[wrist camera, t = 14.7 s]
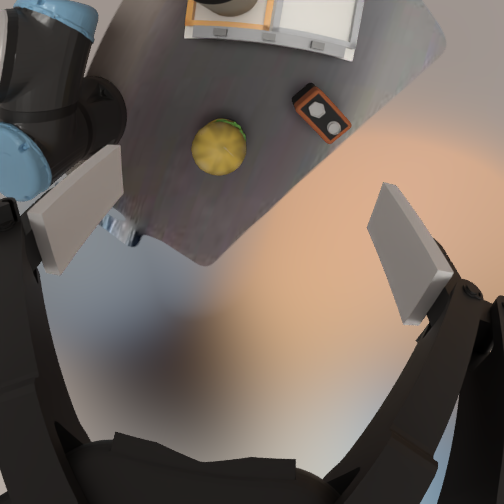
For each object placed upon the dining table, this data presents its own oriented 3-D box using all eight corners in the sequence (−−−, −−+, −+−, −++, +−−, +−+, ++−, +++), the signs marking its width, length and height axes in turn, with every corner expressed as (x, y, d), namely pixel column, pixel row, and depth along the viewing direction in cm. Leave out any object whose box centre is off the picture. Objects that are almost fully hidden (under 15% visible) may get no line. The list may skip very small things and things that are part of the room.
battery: (310, 81, 40) (320, 88, 32) (339, 112, 43) (355, 128, 35) (290, 99, 42) (294, 111, 34) (319, 129, 45) (330, 148, 37)
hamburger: (194, 132, 46) (173, 157, 37) (226, 102, 43) (212, 119, 34) (227, 163, 50) (215, 196, 40) (259, 136, 46) (256, 162, 37)
